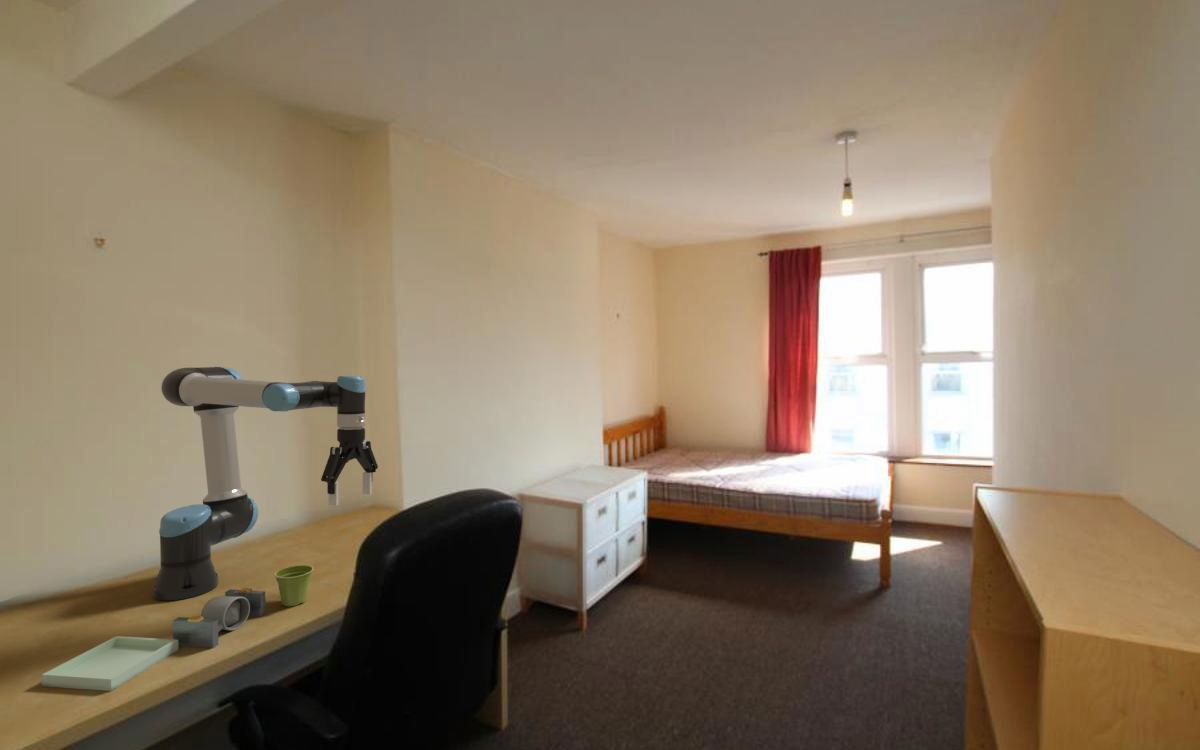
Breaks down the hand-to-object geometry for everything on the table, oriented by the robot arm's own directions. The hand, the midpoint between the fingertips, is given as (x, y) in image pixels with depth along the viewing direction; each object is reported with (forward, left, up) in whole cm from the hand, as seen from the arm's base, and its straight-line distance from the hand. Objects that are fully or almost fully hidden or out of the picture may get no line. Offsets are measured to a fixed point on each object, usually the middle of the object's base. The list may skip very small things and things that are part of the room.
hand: (351, 499), depth 161 cm
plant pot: (-10, -12, -26) cm, 30 cm away
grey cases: (-18, -28, -26) cm, 42 cm away
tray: (-28, -46, -26) cm, 60 cm away
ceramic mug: (-18, -28, -26) cm, 42 cm away
